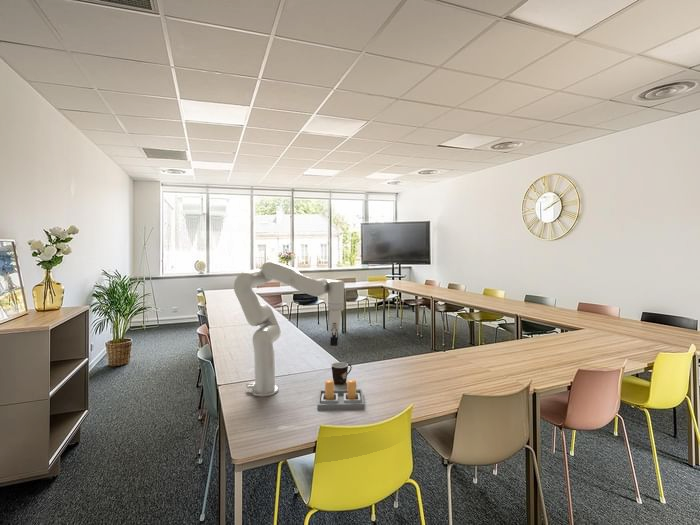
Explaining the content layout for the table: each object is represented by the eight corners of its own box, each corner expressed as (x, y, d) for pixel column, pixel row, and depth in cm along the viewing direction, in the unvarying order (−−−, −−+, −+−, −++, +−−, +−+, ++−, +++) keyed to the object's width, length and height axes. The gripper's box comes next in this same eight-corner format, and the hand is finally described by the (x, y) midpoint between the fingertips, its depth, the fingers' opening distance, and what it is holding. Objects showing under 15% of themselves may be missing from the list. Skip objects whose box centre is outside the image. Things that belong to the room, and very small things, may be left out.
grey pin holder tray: (317, 411, 145) (317, 404, 145) (319, 396, 160) (319, 390, 160) (364, 410, 146) (364, 404, 145) (361, 395, 160) (361, 389, 160)
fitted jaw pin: (325, 403, 150) (324, 383, 150) (325, 399, 154) (325, 379, 154) (334, 403, 151) (333, 383, 150) (334, 399, 155) (334, 379, 154)
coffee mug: (333, 388, 169) (333, 368, 169) (329, 381, 177) (329, 363, 177) (355, 385, 172) (355, 366, 172) (351, 379, 180) (351, 360, 180)
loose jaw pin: (347, 403, 151) (347, 383, 150) (347, 399, 155) (347, 379, 154) (356, 402, 151) (356, 382, 151) (356, 398, 155) (356, 379, 155)
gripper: (328, 303, 167) (327, 337, 168) (326, 309, 149) (325, 347, 150) (343, 303, 167) (342, 337, 168) (343, 310, 149) (341, 348, 150)
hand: (334, 342), depth 159 cm, fingers open, 9 cm apart
